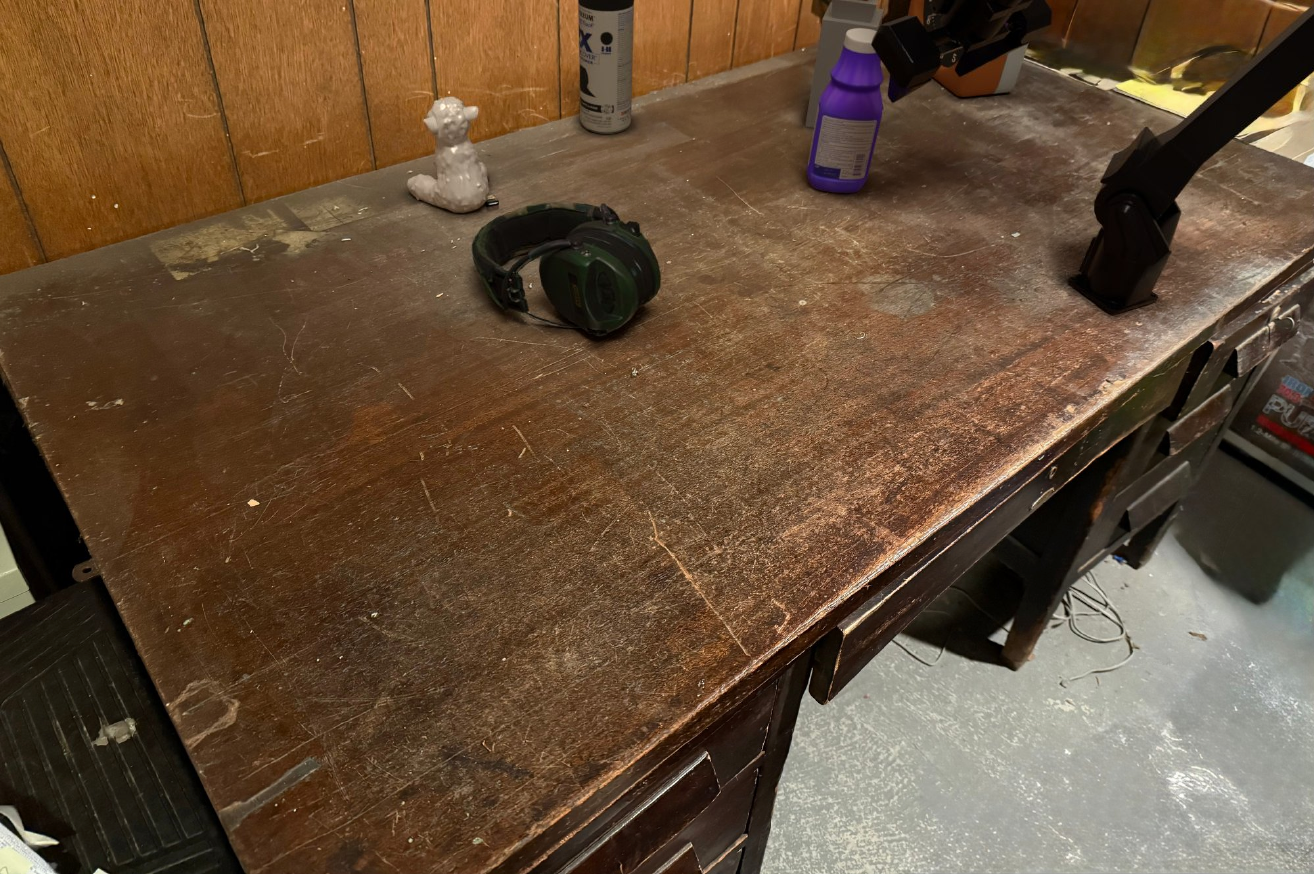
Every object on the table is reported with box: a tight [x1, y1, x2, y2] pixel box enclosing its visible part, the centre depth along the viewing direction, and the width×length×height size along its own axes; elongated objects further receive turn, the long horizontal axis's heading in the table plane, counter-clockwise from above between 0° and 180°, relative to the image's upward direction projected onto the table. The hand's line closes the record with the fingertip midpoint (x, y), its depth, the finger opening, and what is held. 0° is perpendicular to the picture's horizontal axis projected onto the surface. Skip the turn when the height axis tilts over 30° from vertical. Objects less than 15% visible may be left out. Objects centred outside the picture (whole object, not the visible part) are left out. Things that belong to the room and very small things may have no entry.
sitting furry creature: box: [406, 96, 490, 214], centre depth 96 cm, size 10×9×12 cm
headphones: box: [471, 201, 662, 337], centre depth 85 cm, size 13×13×20 cm
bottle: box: [806, 28, 885, 194], centre depth 100 cm, size 7×6×17 cm
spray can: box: [577, 0, 635, 135], centre depth 109 cm, size 7×7×20 cm
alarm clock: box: [907, 0, 1030, 98], centre depth 125 cm, size 18×9×21 cm, turn 17°
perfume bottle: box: [804, 0, 885, 129], centre depth 113 cm, size 7×7×18 cm
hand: (924, 86), depth 95 cm, fingers open, 9 cm apart
